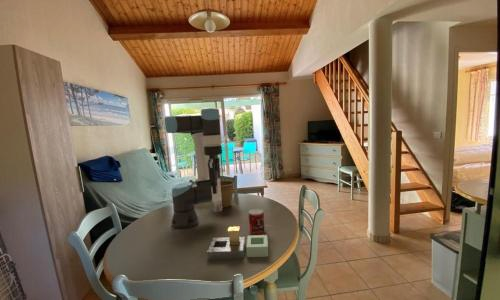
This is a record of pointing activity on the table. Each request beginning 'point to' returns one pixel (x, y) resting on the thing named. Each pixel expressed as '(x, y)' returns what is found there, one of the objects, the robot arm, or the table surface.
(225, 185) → the plant pot
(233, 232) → the tan rectangular block
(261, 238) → the pale green box
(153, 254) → the table surface
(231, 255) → the socket block
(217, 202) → the white tall bar
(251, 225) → the canned food
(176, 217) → the robot arm
